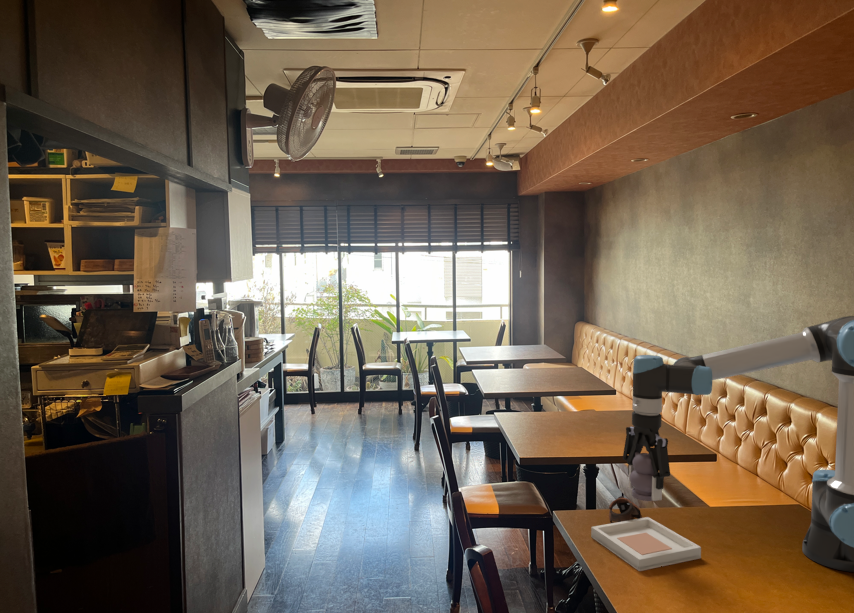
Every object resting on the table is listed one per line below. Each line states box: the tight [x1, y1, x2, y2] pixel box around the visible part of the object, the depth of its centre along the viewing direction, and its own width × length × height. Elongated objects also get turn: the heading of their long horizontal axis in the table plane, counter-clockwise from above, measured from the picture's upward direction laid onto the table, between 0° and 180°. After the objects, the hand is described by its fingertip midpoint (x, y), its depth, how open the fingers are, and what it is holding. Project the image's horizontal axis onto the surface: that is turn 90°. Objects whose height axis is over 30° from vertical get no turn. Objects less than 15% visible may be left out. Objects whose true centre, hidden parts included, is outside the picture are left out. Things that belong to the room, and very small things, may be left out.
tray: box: [590, 516, 702, 572], centre depth 156 cm, size 20×20×3 cm
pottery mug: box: [608, 495, 643, 523], centre depth 173 cm, size 12×10×8 cm
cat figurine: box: [630, 451, 655, 502], centre depth 155 cm, size 8×8×12 cm
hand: (644, 493), depth 156 cm, fingers closed on cat figurine, 8 cm apart
